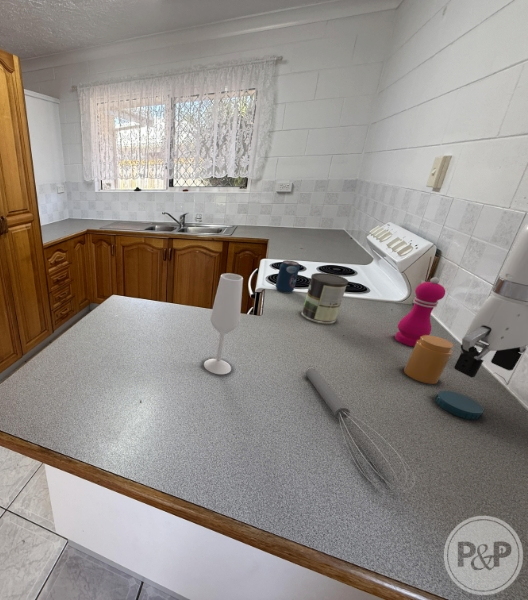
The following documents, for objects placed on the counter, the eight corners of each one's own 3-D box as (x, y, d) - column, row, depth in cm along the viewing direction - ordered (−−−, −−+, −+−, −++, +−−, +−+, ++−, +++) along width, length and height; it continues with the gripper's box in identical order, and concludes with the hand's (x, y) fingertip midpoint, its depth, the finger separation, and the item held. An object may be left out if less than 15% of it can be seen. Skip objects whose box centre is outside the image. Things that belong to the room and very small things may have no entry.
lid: (446, 415, 65) (450, 408, 64) (428, 393, 71) (431, 387, 70) (489, 423, 63) (493, 416, 62) (466, 400, 69) (470, 394, 68)
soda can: (292, 294, 124) (299, 266, 119) (273, 291, 127) (279, 262, 123) (294, 289, 129) (301, 261, 125) (276, 286, 133) (282, 258, 128)
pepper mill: (421, 339, 93) (450, 276, 85) (426, 350, 88) (458, 284, 80) (391, 332, 97) (416, 271, 89) (394, 343, 91) (421, 278, 83)
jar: (429, 370, 79) (445, 336, 75) (443, 386, 73) (462, 350, 69) (399, 365, 81) (413, 332, 77) (411, 380, 75) (427, 345, 71)
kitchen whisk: (319, 372, 77) (326, 351, 75) (415, 510, 47) (432, 482, 44) (293, 370, 78) (299, 348, 75) (371, 505, 47) (385, 476, 45)
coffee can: (296, 316, 106) (307, 277, 100) (307, 307, 113) (317, 270, 107) (330, 327, 99) (343, 286, 94) (339, 317, 106) (352, 278, 100)
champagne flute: (223, 378, 75) (239, 284, 65) (198, 366, 79) (210, 276, 69) (235, 366, 79) (252, 276, 69) (212, 355, 83) (224, 270, 74)
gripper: (531, 280, 61) (491, 354, 68) (463, 287, 58) (428, 364, 65) (591, 294, 54) (539, 375, 61) (516, 303, 51) (471, 387, 58)
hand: (482, 369), depth 63 cm, fingers open, 9 cm apart
